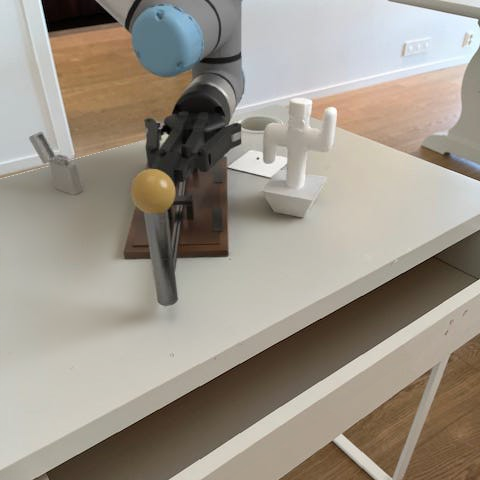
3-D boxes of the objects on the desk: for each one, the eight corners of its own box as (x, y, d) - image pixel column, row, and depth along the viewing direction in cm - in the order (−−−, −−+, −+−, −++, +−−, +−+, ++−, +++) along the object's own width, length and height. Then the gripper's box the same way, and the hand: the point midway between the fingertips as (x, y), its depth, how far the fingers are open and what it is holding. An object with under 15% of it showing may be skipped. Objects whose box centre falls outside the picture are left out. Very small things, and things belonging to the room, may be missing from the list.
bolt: (175, 149, 85) (166, 51, 75) (199, 149, 85) (193, 50, 75) (147, 315, 53) (124, 181, 43) (185, 314, 53) (171, 180, 43)
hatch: (148, 163, 85) (145, 140, 82) (226, 162, 85) (226, 138, 83) (124, 258, 64) (119, 231, 61) (228, 256, 64) (227, 228, 62)
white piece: (270, 177, 80) (270, 172, 80) (226, 167, 83) (226, 162, 83) (292, 158, 86) (292, 154, 85) (250, 149, 89) (250, 145, 88)
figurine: (271, 191, 77) (274, 86, 67) (332, 202, 74) (345, 94, 65) (253, 213, 72) (254, 104, 62) (318, 226, 69) (329, 113, 60)
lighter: (82, 190, 78) (71, 138, 73) (74, 195, 77) (61, 143, 72) (50, 180, 81) (36, 129, 76) (41, 184, 80) (27, 133, 75)
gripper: (250, 140, 73) (221, 224, 56) (162, 135, 75) (106, 216, 57) (251, 85, 68) (219, 158, 51) (156, 81, 70) (93, 151, 52)
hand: (159, 189), depth 54 cm, fingers closed
